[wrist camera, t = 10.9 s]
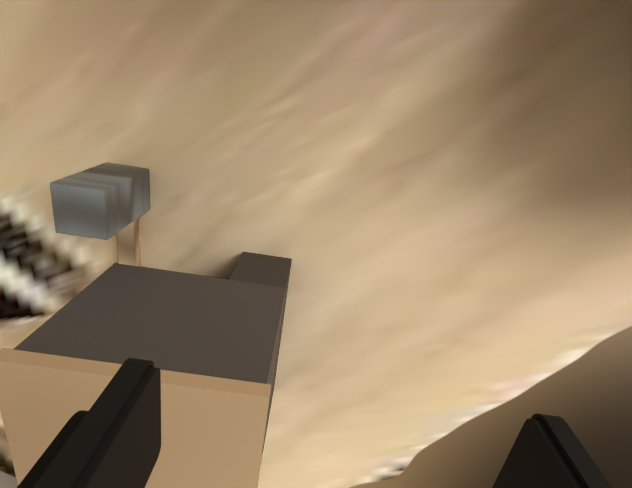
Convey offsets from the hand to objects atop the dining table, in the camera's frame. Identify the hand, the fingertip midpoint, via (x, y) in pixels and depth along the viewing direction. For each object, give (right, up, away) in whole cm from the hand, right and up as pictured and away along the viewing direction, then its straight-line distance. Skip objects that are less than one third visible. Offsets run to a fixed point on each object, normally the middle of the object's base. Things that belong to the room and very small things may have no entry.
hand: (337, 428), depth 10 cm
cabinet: (-12, -4, +33) cm, 35 cm away
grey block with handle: (-20, +2, +31) cm, 37 cm away
